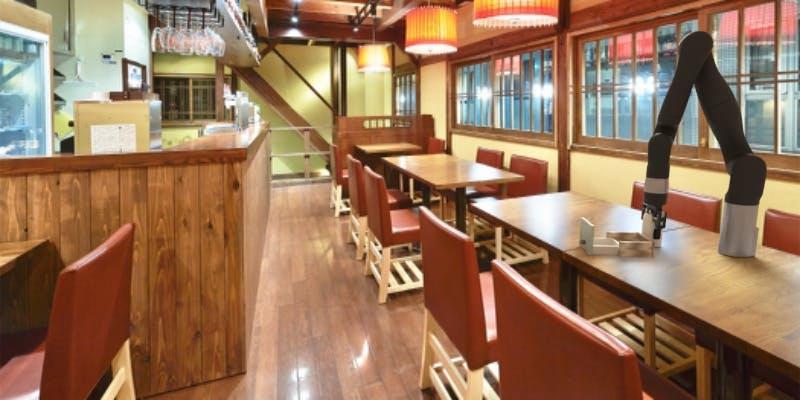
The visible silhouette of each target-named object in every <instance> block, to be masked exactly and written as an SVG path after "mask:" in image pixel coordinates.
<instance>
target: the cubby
mask: <svg viewBox="0 0 800 400" xmlns="http://www.w3.org/2000/svg"><path fill="white" fill-rule="evenodd" d="M605 238H613V239H614V240H616V241H617V242H618V243H619V248H618V255H617V257H619V258H654V256H655V249H656V248H655V242H653V241H652V240H650V239H649V238H647V237H646V236H644V235H643V234H642V232H640V231H606V235H605Z"/></svg>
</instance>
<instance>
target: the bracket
mask: <svg viewBox="0 0 800 400" xmlns="http://www.w3.org/2000/svg"><path fill="white" fill-rule="evenodd" d="M579 227H580V228H579V240H578V241H579V243H578V245H579V246H580V247H581V248H582V249H583V250H584V251H585V252H586V253H587V254H588V255H589V256H593V255H616V256H618V248H619V243H618V242H617V241H616V240H614V239H613V238H606V237H595V225H594V224H593V223H592V222H590V221H589V220H588V219H586V217H583V216H582V217H580V225H579Z"/></svg>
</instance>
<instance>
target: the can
mask: <svg viewBox="0 0 800 400" xmlns="http://www.w3.org/2000/svg"><path fill="white" fill-rule="evenodd" d="M653 215H654V214H653ZM654 219H655V220H657V217H654ZM651 220H652V218H651V214H650V213H646V211H645V214H644V215H643V220H642V222H641V223H642V225H641V226H642V227H641V234H643V235H644V236H646V237H647V238H649V239H650V240H652V241H653V242H655V248H654V249H656V248H657V249H658V248H661V246H662V243H663V242H662V240H663V234H664V233H663V231H664V229H661V237H660V239H659V240H655V239H653V230H654V226H653V223H652V222H651ZM656 225H657V222H656ZM662 225H663V222H662Z"/></svg>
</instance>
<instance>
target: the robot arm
mask: <svg viewBox="0 0 800 400" xmlns="http://www.w3.org/2000/svg"><path fill="white" fill-rule="evenodd" d="M713 48H714V39H713V37H712V36H711V34H710V33H709V32H707V31H704V30H695V31H692V32H690V33H687V34H686V35H685V36H684V37H683V38H682V39H681V40H680V41H679V43H678V45H677V54H678V61H677V66H676V70H675V72H674V74H673V75H674V76H673V78H672V80H671V83H670V85H669V88H668V89H667V92H666V95H665V97H664V98H663V102H662V104H661V107H660V109H659V112H658V117H657V119H656V120H657V121H656V125H655V128H654V131H653V133H652V136H650V138H649V140H648V143H647V165H646V169H645V170H646V171H645V172H646V173H645V180H644V183H643V184H644V185H643V194H642V205H641V215H640V219H641V220H642V221H643V215H644V214H645V211H646V213H650V214H651V218H652V220H651V222H652V223H653V226H654V230H653V239H655V240H659V239H660V237H661V229H663V230H665V229H666V224H667V216H668V212H667V211H663V206H666V205H668V200H669V199H668V198H669V189H670V173H671V164H670V161H671V160H670V159H671V153H672V147H673V144H674V142H675V139H676V136H677V133H678V129H679V125H680V124H681V122H682V120H683V117H684V115H685V112H686V109H687V105H688V102H689V99H690V97H691V93H692V91H693V88H694V89H695V90H694V91H695V93H696V96H697V99H698V102H699V105H700V107H701V111H702V113H703V115H704V118H705V119H706V120H705V121H706V122H707V124H708V126H709V129H710V130H711V132H712V134H713V136H714V137H715V140H716V141H717V143H718V145H719V148H720V152H721V155H722V158H723V163H724V166H725V169H726V172H727V174H728V175H729V183H728V188H727V191H726V193H725V194H724V199H723V207H722V217H721V223H720V230H719V239H718V247H717V252H718V253H720V254H722V255H725V256H728V257H734V258H750V257H755V256H756V253H757V245H758V239H759V232H760V228H759V227H758V226H757V224H758V218H759V217H758V215H759V207H760V202H761V199H762V197H763V195H764V190H765V186H766V180H767V173H768V166H767V163H766V161H765V159H763V158H762V157H761V156H759V155H757V154H756V155H755V153H754V151H753V150H752V148H751V146H750V144H749V142H748V140H747V138H746V135H745V132H744V131H745V130H744V123H743V116H742V112H741V108H740V106H739V103H738V101H737V98H736V96H735V94H734V92H733V91H732V89H731V86H730V84H729V83H728V82H727V81H726V79H725V77H723V75H722V74H721V72H720V71H719V69H718V67H717V64H716V61H715V57H714V55H713V51H712V50H713ZM653 214H654V215H653ZM654 217H657V220H655V219H654ZM656 222H657V225H656ZM662 222H663V225H662Z"/></svg>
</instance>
